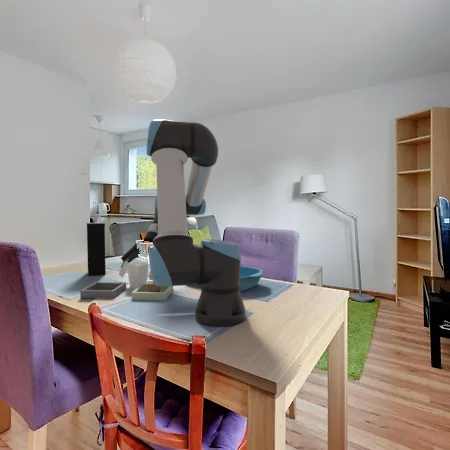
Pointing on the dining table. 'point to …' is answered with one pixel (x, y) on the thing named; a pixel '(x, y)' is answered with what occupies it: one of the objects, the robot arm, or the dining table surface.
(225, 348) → the dining table surface
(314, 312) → the dining table surface
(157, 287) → the letter cube
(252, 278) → the casserole dish
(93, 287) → the charcoal tray
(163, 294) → the sage tray
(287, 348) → the dining table surface
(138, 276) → the white cup
